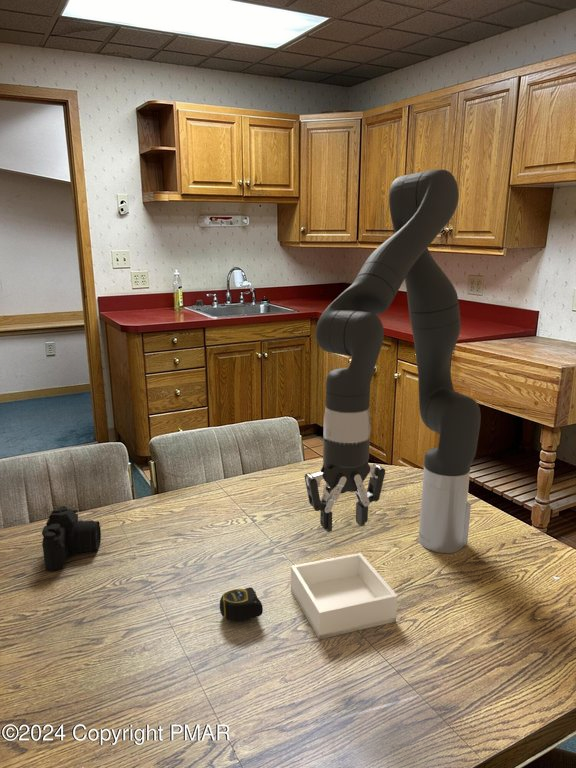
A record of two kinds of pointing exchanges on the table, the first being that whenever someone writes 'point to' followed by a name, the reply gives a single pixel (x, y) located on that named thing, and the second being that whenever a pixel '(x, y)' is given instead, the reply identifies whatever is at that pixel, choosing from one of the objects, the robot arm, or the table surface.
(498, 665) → the table surface
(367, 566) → the bin
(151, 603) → the table surface
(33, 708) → the table surface
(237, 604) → the tape measure
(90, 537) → the film camera
